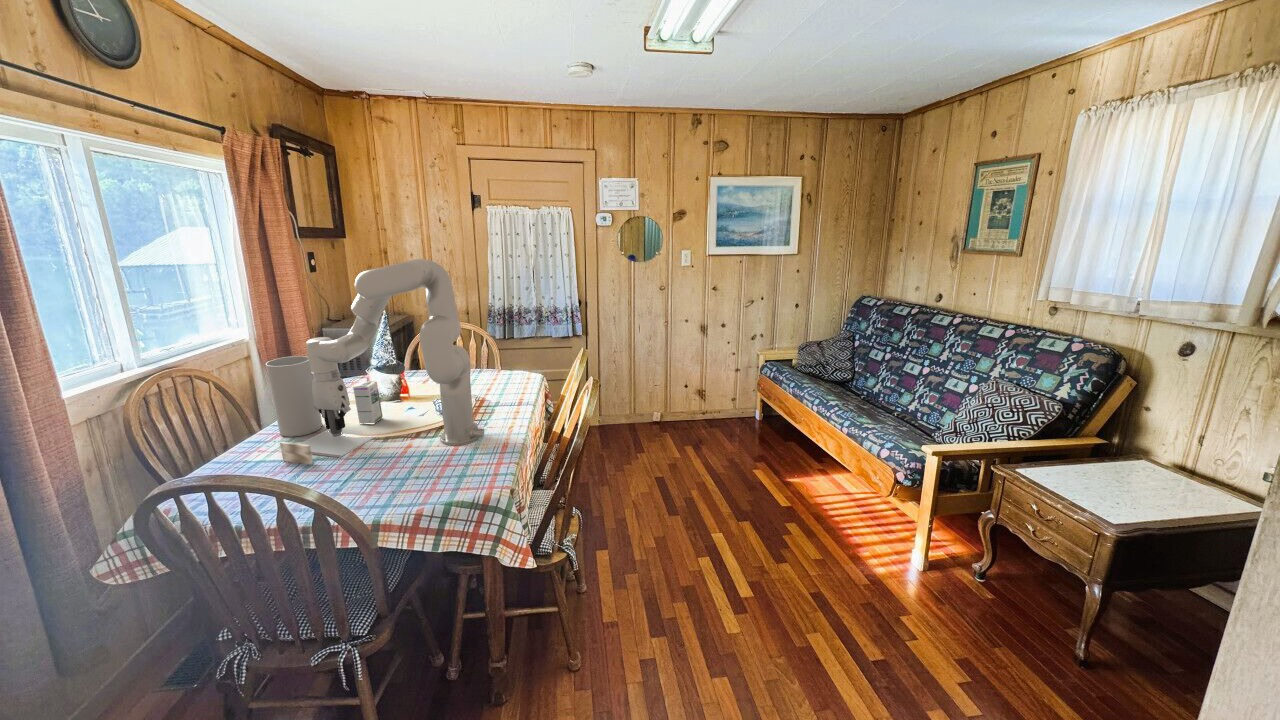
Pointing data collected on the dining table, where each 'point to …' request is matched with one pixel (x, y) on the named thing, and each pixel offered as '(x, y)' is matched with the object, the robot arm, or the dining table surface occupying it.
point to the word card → (296, 453)
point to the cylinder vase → (293, 395)
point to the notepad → (333, 444)
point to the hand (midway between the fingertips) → (335, 427)
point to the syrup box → (367, 402)
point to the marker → (333, 423)
